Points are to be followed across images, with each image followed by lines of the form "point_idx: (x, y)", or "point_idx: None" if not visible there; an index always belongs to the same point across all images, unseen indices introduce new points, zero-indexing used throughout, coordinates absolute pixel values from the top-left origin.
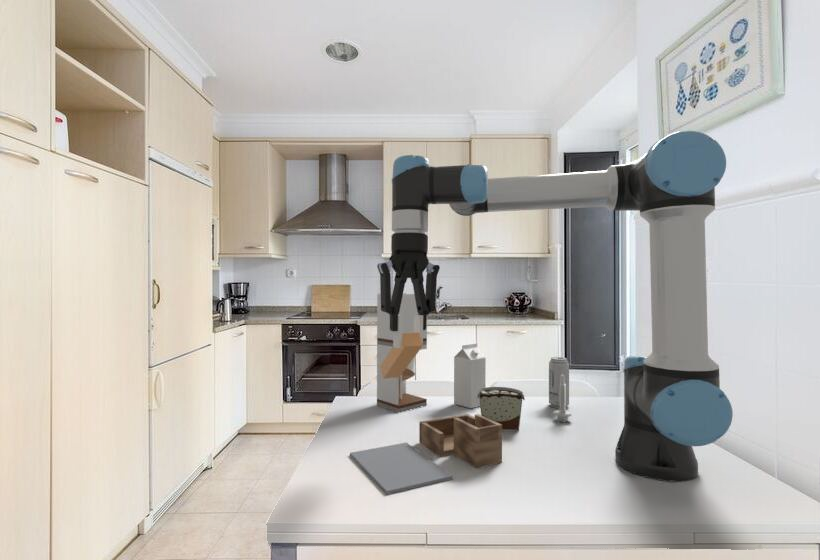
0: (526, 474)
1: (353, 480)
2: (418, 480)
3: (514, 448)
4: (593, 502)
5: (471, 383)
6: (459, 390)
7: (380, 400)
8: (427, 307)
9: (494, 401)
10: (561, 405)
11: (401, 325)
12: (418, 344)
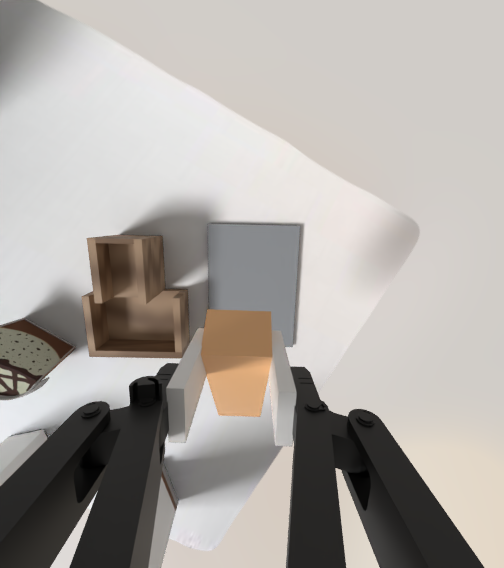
0: (110, 187)
1: (317, 277)
2: (252, 233)
3: (72, 265)
4: (79, 79)
5: (4, 466)
6: None
7: (172, 503)
8: (116, 428)
9: (22, 360)
10: None
11: (279, 366)
12: (222, 312)
